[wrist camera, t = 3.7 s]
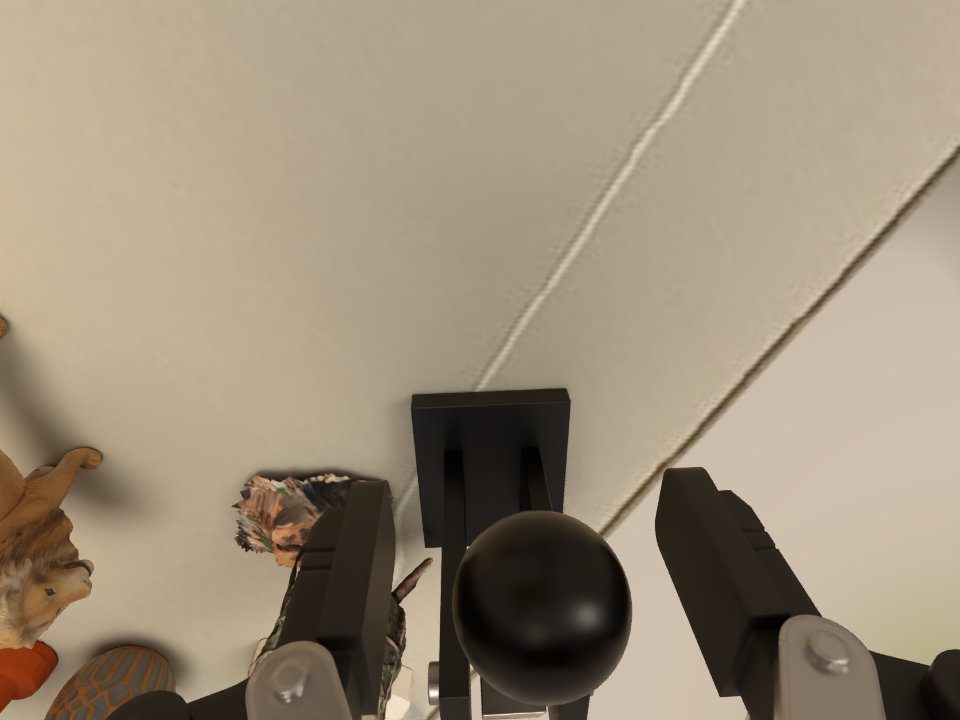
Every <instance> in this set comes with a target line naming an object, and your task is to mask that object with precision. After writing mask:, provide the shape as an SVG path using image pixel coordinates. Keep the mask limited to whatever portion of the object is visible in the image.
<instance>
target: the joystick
mask: <svg viewBox="0 0 960 720" xmlns="http://www.w3.org/2000/svg"><path fill="white" fill-rule="evenodd" d="M266 640H267V639H263V640H261V641H260V642H259V644H258V646H257V649H256V652H255V655H254V658H253V661H252V663H253V662H254V661H255V660H256V658H257V656H258V655H259V654H260V653H261V650H262V648H263V646H264V645H265V642H266ZM250 667H251V666H250ZM248 672H249V670H248ZM247 678H248V674H247V677H246V679H247ZM411 685H412V671H411V670H410V669H408V668H406V667H404V666H402V668H401V671H400V672H399V674H398V677H397V679H396V680H395V681H394V683H393V684H392V688H391V699H390V700H389V701H388V702H387V705H386V714H385V720H401V719H402V717H403V716H404V714H405V713H406V711H407V710H408V708H409V707H410V700H411Z"/></svg>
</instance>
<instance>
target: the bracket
mask: <svg viewBox="0 0 960 720" xmlns="http://www.w3.org/2000/svg"><path fill="white" fill-rule="evenodd" d="M570 405H571V401H570V398H569V395H568V392H567V389H544V390H520V391H496V392H471V393H447V394H423V395H413V396H412V402H411V414H412V424H413V434H414V444H415V454H416V464H417V474H418V484H419V494H420V503H421V513H422V523H423V533H424V543H425V548H439V547H442V562H441V606H440V650H439V661H433V662H430V663H429V668H428V698H429V704H430V705H439V708H440V718H441V720H472V714H471V678H470V662H469V660H468V659H467V657H466V655H465V653H464V651H463V649H462V647H461V645H460V643H459V640H458V637H457V634H456V631H455V626H454V621H453V611H452V597H453V587H454V581H455V577H456V574H457V570H458V567H459V565H460V563H461V561H462V558H463V556H464V555H465V553H466V551H467V546H470V545H471V544H472V543H473V541H474V540H475V539H476V538H477V537H478V536H479V535H480V534H481V533H482V532H483V531H484V530H485V529H486V528H487V527H489V526H490V525H492V524H493V523H495V522H496V521H498V520H500V519H502V518H504V517H506V516H509V515H511V514H514V513H517V512H522V511H528V510H549V511H554V512H559V513H563V502H564V488H565V474H566V460H567V446H568V432H569V419H570ZM593 693H594V691H592V692H591V693H589V694H588V695H586V696H584V697H582V698H580V699H578V700H576V701H572V702H569V703H565V704H561V705H552V706H548V712H549V719H550V720H587V714H588V707H589V699H590V696H593Z"/></svg>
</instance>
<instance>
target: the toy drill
mask: <svg viewBox="0 0 960 720" xmlns="http://www.w3.org/2000/svg"><path fill="white" fill-rule="evenodd" d="M56 664H57V657H56V655H55V653H54V652H53V651H52V650H51V649H50V648H49V647H47V646H46V645H44V644H43V643H40V642H38V641H35V644H34V647H33V648H32V649H29V648H26V647H24V646H23V647H22V648H18V649H13V648H11V647H10V648H3V649H0V713H1V712H2V710H3V709H4V708H5V707H6V706H7V705H8V704H9V703H10V701H11V700H19V699H24V698H27V697H29V696H32V695H33V694H34V693H35V692H36V691H37V690H38V689H39V688H40V687H41V686H42V685H43V684H44V682H45V681H46V680H47V679H48V677H49V676H50V675H51V673H52V671H53V670H54V668H55V666H56Z"/></svg>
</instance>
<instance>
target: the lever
mask: <svg viewBox="0 0 960 720" xmlns="http://www.w3.org/2000/svg"><path fill="white" fill-rule="evenodd" d="M452 611H453V621H454V626H455V631H456V634H457V637H458V640H459V643H460V645H461V647H462V649H463V651H464V653H465V655H466V657H467V659H468V660H469V662H470V663H471V665H472V666H473V668H474V669H475V670H476V671H477V673H478V674H479V675H480V683H481V705H482V720H497V719H498V720H499V719H516V718H534V717H540V716H541V715H543V714H544V713H546V706H552V705H561V704H565V703H569V702H572V701H576V700H578V699H580V698H582V697H584V696H586V695H588V694H589V693H591V692H592V691H594V690H595V689H597V688H598V687H599V686H600V685H601V684H602V683H603V682H604V681H605V680H606V679H608V677H609V676H610V675H611V674H612V672H613V671H614V670H615V668H616V667H617V665H618V663H619V662H620V660H621V658H622V656H623V654H624V651H625V649H626V646H627V643H628V640H629V636H630V631H631V623H632V601H631V592H630V589H629V584H628V580H627V578H626V575H625V572H624V570H623V567H622V566H621V564H620V562H619V560H618V558H617V556H616V555H615V553H614V552H613V550H612V549H611V547H610V546H609V545H608V544H607V542H606V541H605V540H604V539H603V538H602V537H601V536H600V535H599V534H598V533H597V532H595V531H594V530H593V529H592V528H590V527H589V526H588V525H586V524H584V523H583V522H581V521H579V520H578V519H575V518H573V517H571V516H568V515H566V514H563V513H559V512H554V511H549V510H528V511H522V512H517V513H514V514H511V515H509V516H506V517H504V518H502V519H500V520H498V521H496V522H495V523H493V524H492V525H490V526H489V527H487V528H486V529H485V530H484V531H483V532H482V533H481V534H480V535H479V536H478V537H477V538H476V539H475V540H474V541H473V543H472V544H471V545H470V547H469V548H468V550H467V551H466V553H465V555H464V556H463V558H462V561H461V563H460V565H459V567H458V570H457V574H456V577H455V581H454V587H453V597H452Z"/></svg>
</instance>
